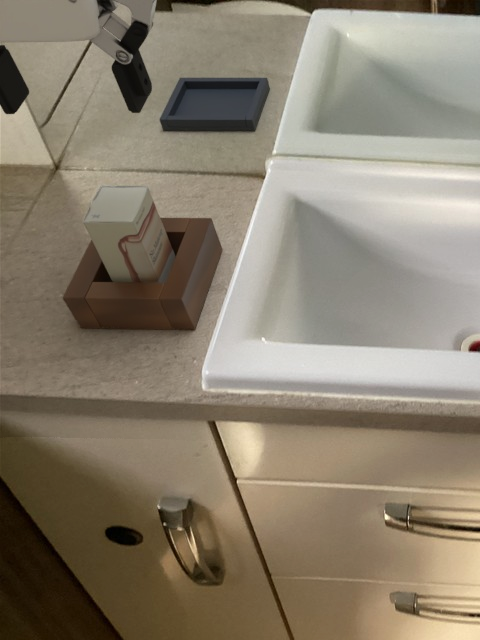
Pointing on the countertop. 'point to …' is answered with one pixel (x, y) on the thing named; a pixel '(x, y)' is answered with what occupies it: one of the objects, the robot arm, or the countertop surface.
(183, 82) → the tray
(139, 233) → the printed product carton
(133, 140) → the countertop surface
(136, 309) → the frame
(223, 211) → the countertop surface
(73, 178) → the countertop surface
